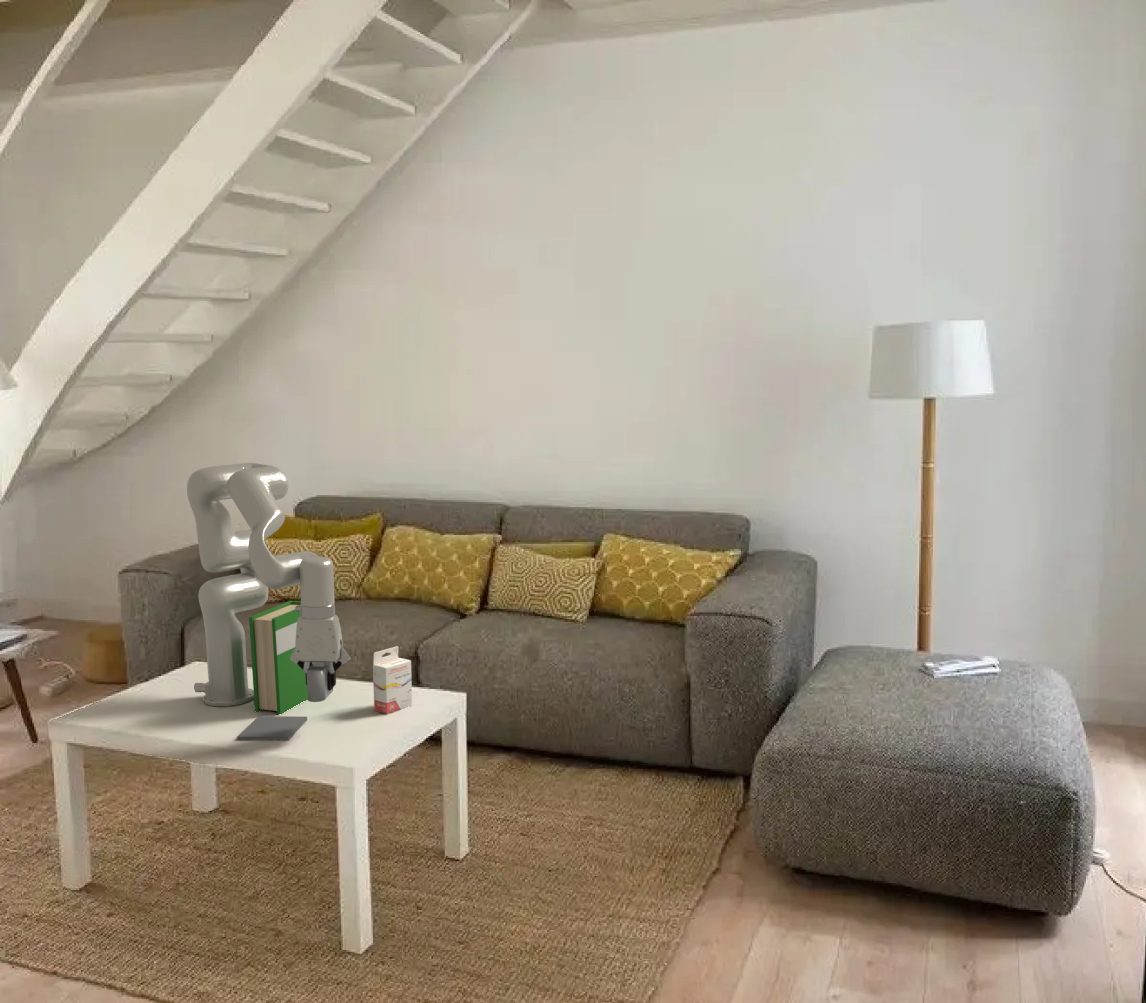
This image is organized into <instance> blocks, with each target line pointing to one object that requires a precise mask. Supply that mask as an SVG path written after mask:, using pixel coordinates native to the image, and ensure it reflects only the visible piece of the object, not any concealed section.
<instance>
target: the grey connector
mask: <svg viewBox="0 0 1146 1003" xmlns="http://www.w3.org/2000/svg"><path fill="white" fill-rule="evenodd" d="M328 673H329V669H328V664H327V662H314V663H313V664H312V665H311V666H310V667H309V668H308V669H307V693H308V700H307V701H308V702H310V703H321V702H324V701H325V700H326V699H328V697H330V695H331V694H332V693H333V691H334V687H333V688H332V690H328V680H327V674H328Z"/></svg>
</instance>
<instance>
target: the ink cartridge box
mask: <svg viewBox="0 0 1146 1003" xmlns="http://www.w3.org/2000/svg"><path fill="white" fill-rule="evenodd" d="M386 653H387V654H388V655H386ZM384 655H385V656H384ZM372 661H373V663H372V678H373V679H372V684H373V685H372V686H373V704H374V706H373V708H374V711H376V712H378V713H383V714H385V715H388V714H391V713H394V712H397V711H400V710H404V709H406V707H407V708H409V707H408V706H410V707H412V706H413V694H412V693H413V691H412V690H413V689H412V685H413V684H412V660H411V659H408V658H407V659H406V658H401V657H399V646H398V645H396V646H394V647H390V648H386V649H383V650H379V651H375V652H373V660H372ZM411 705H412V706H411Z"/></svg>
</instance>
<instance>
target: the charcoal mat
mask: <svg viewBox="0 0 1146 1003" xmlns="http://www.w3.org/2000/svg"><path fill="white" fill-rule="evenodd" d="M307 721H308V716H298V715H297V716H294V715H293V716H289V715H287V716H286V715H285V716H281V715H280V716H279V715H278V716H272V715H271V716H270V715H267V716H266V715H265V716H264V715H260V716H259V715H258V716H257V717H256V718H255V719H254V720H253V721H252V722H250V724H249V725H247V726H246V727H245V728H244V729H243V731H241V732H240V733H239V734H238V735H237V736H236V737H237V741H289V740H290V739H291V738H292V737H293V736H294V735H295V734H296V733H297V732H298V731H299V730H300V729H301V727H302V726H303V725H305V723H306V722H307Z"/></svg>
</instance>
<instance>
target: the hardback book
mask: <svg viewBox="0 0 1146 1003" xmlns="http://www.w3.org/2000/svg"><path fill="white" fill-rule="evenodd" d="M299 605H301V600H300V601H299V600H298V601H297V600H289V601H285V602H284V603H280V604H278V605H276V606H274V607H271V608H268V609H266V610H264V611H263V610H262V611H260V612H258V613H256V614H253V615H251V616H249V617H248V621H249V640H250V654H251V656H250V657H251V671H252V687H253V689H252V690H253V691H254V698H253V703H254V712H255V711H256V712H255V713H259V711H260V710H262V709H264V710H266V711H274V712H276V713H277V714H281V715H283V714H285V713H287V712H288V711H287V710H289V709H290V710H292V709H293V707H294V706H296V705H298V704H299V705H301V704H302V703H301V702H303V701H305V702H306V700H307V701H308V693H307V685H306V674H305V673H304V671H303V669H302V668H301V667H300V666H298V664H297V663H295V662H293V661H291V660H290V657H291V655H292V653H293V652H294V650H295V642H296V628H297V621H298V618H299V617H300V616H301V614H300V612H296V611H295V607H296V606H299ZM313 663H314V662H313ZM300 703H301V704H300ZM303 703H304V702H303ZM299 705H298V706H299ZM296 707H297V706H296ZM291 708H292V709H291ZM294 708H295V707H294ZM264 710H262V711H264ZM290 710H289V711H290ZM286 711H287V712H286ZM260 712H261V711H260ZM284 712H285V713H284ZM282 713H283V714H282Z"/></svg>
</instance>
